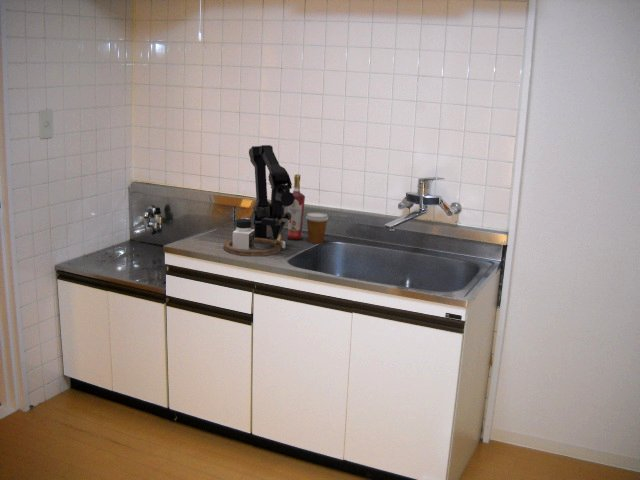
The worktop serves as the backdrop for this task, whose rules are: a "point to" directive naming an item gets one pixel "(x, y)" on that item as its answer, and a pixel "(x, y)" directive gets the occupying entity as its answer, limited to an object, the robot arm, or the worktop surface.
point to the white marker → (283, 244)
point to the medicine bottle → (243, 234)
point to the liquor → (296, 211)
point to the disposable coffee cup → (316, 227)
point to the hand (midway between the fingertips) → (275, 239)
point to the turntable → (274, 250)
